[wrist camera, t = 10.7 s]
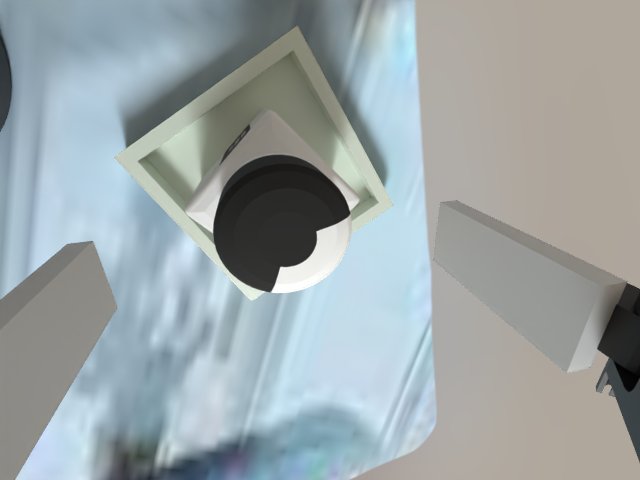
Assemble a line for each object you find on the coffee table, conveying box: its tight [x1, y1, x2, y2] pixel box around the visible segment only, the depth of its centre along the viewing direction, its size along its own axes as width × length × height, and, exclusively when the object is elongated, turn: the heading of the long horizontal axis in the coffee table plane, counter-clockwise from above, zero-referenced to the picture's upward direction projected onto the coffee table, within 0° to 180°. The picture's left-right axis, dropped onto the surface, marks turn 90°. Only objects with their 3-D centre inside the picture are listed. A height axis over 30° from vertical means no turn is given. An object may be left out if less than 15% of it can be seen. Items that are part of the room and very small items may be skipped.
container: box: [185, 109, 359, 293], centre depth 20 cm, size 8×8×13 cm
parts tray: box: [114, 25, 393, 301], centre depth 25 cm, size 15×15×2 cm
